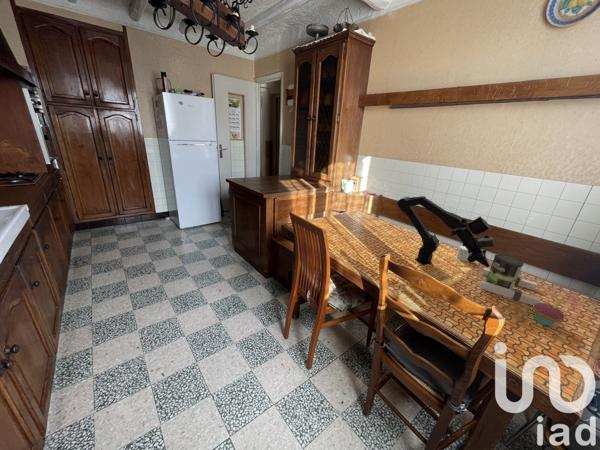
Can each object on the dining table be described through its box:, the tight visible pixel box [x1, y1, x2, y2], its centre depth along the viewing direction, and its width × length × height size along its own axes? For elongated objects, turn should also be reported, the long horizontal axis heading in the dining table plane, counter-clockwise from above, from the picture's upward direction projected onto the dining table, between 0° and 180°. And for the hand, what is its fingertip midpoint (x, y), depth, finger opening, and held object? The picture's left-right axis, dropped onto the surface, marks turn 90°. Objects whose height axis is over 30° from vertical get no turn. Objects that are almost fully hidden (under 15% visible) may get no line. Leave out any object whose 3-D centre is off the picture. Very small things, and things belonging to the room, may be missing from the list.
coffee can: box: [484, 253, 525, 290], centre depth 112 cm, size 10×10×14 cm
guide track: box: [478, 267, 541, 306], centre depth 112 cm, size 20×18×4 cm
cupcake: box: [531, 296, 565, 327], centre depth 90 cm, size 9×8×12 cm
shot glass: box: [456, 244, 471, 262], centre depth 137 cm, size 7×7×7 cm
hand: (488, 266), depth 115 cm, fingers closed
